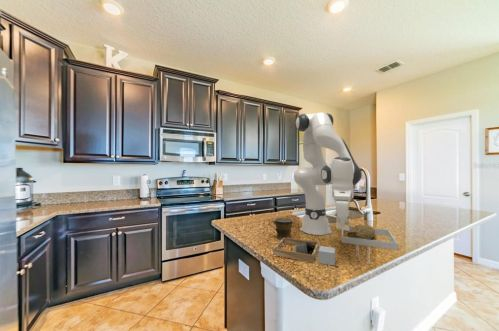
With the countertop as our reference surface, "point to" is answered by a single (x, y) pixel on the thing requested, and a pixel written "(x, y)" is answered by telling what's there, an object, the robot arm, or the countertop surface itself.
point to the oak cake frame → (295, 254)
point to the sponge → (361, 232)
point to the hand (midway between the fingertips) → (342, 224)
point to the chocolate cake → (305, 248)
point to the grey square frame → (373, 243)
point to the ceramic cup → (283, 227)
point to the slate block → (327, 255)
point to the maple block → (345, 224)
